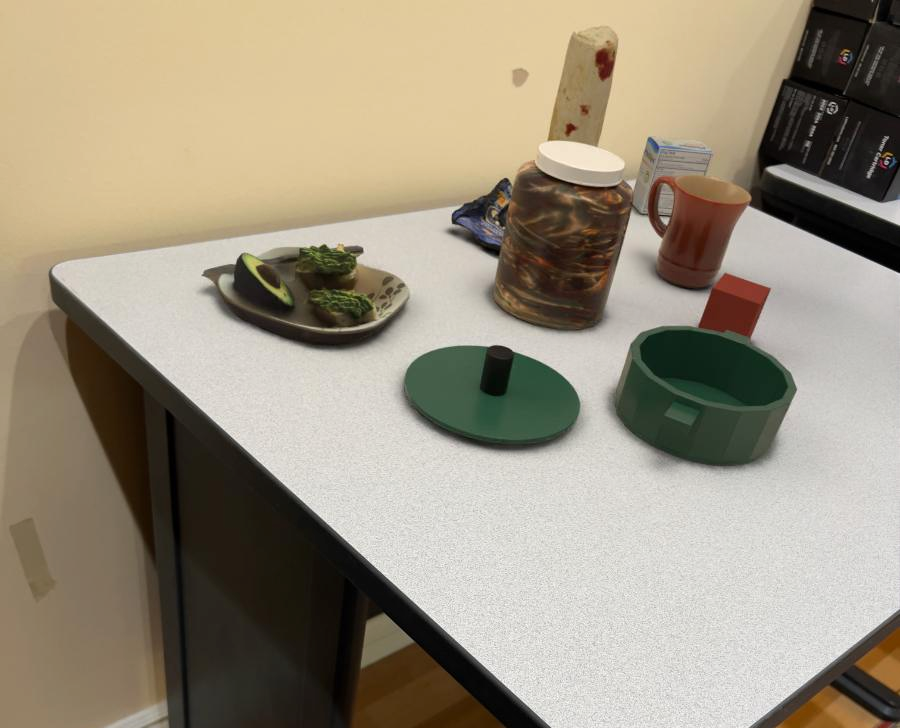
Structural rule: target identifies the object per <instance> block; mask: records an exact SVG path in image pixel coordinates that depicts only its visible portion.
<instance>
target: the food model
mask: <svg viewBox="0 0 900 728" xmlns="http://www.w3.org/2000/svg"><path fill="white" fill-rule="evenodd" d="M618 46H619V36H618V34H617V33H616V31H614V30H613V29H612V28H611V26H609V25H600V26H592V27H588V28H587V29H585V30H579V31H578V32H577V33H576V31H573V32H572V34H571V35H570V39H569V41H568V44H567V49H566V53H565V59H564V63H563V67H562V72H561V76H560V81H559V85H558V89H557V93H556V97H555V102H554V104H553V109H552V114H551V119H550V125H549V129H548V130H549V131H548V136H547V140H546V142H548V141H571V142H577V143H583V144H587V145H591V146H595V147H598V146H599V142H600V140H601V139H600V138H601V136H602V133H603V132H602V131H603V126H604V122H605V117H606V113H607V109H608V103H609V99H610V95H611V91H612V90H611V89H612V85H613V78H614V71H615V67H616V60H617V54H618V48H619V47H618Z"/></svg>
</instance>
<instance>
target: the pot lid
mask: <svg viewBox="0 0 900 728" xmlns="http://www.w3.org/2000/svg"><path fill="white" fill-rule="evenodd" d="M403 384H404V391H405V394H406V396H407V398H408V400H409V401H410V403H411V405H413V407H414V409H416V410H417V411H418V412H419V413H420V414H421V415H423V416H424V417H425V418H426V419H428V420H429V421H431V422H432V423H434V424H436V425H438V426H439V427H441V428H444V429H445V430H447V431H450V432H452V433H455V434H458V435H460V436H463V437H466V438H469V439H473V440H477V441H482V442H485V443H486V442H487V443H493V444H502V445H503V444H504V445H530V444H537V443H542V442H545V441H549V440H553V439H555V438H558V437H560V436H562V435H563V434H565V433H566V432H568V431H569V430H570V429H571V428H572V427H573V426H575V424H576V422H577V420H578V417H579V415H580V412H581V401H580V397H579V394H578V392H577V390H576V389H575V387H574V386H573V385H572V383H571V382H570V381H569V380H568V379H567V378H566V377H565V376H563V374H561V373H560V372H558V371H557V370H555V369H554V368H552V367H551V366H550V365H547V364H546V363H544V362H542V361H540V360H537V359H536V358H533V357H531V356H528V355H525V354H522V353H519V352H516V351H513V349H511V348H510V347H508V346H506V345H499V344H493V345H490V346H486V345H485V346H484V345H471V344H470V345H467V344H465V345H451V346H445V347H441V348H436V349H433V350H430V351H428V352H425V353H423V354H420V356H418V357H416V358H415V359H414V360H412V362H411V363H410V364H409V366H408V367H407V368H406V371H405V374H404V381H403Z"/></svg>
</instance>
